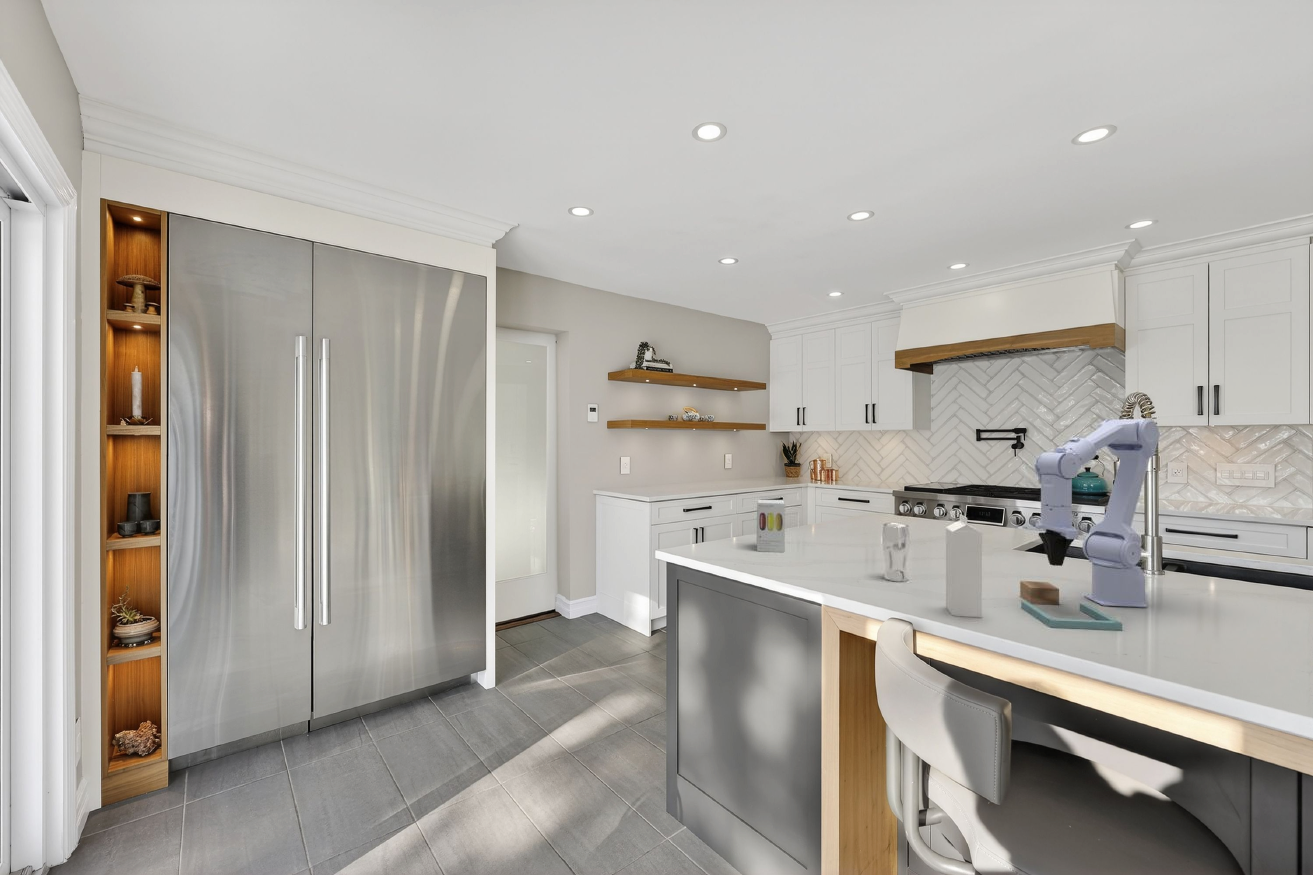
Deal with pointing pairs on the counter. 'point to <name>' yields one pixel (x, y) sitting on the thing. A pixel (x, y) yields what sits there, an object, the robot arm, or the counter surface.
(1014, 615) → the counter surface
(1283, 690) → the counter surface
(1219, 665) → the counter surface
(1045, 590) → the walnut block
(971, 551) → the milk
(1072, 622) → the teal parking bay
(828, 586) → the counter surface
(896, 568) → the beer glass
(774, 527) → the supplement box
